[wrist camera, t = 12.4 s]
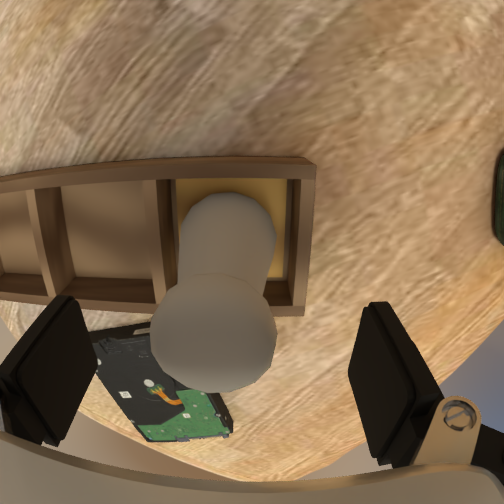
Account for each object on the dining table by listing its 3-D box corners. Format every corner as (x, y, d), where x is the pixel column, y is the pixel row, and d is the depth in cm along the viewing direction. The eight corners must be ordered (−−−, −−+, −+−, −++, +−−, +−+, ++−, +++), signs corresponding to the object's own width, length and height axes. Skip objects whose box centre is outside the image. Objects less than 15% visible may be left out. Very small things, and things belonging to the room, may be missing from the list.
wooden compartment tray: (-15, 179, 20) (-45, 191, 16) (304, 157, 20) (316, 165, 17) (6, 279, 24) (-17, 299, 20) (295, 290, 24) (303, 320, 21)
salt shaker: (194, 269, 23) (147, 416, 11) (180, 190, 20) (94, 287, 8) (276, 262, 22) (302, 411, 10) (270, 180, 20) (302, 271, 8)
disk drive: (87, 328, 27) (152, 426, 32) (75, 346, 24) (147, 444, 29) (185, 309, 26) (236, 419, 31) (178, 329, 23) (235, 439, 28)
